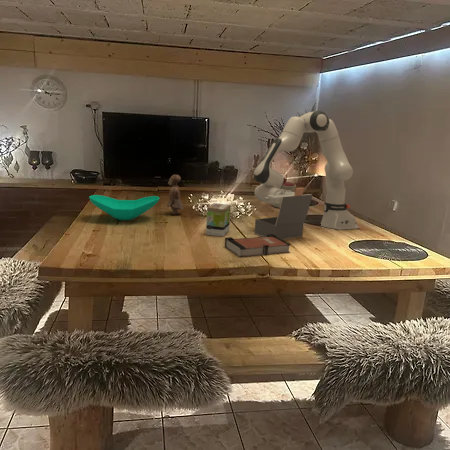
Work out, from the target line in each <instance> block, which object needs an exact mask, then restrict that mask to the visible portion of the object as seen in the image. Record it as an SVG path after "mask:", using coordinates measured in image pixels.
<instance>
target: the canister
mask: <svg viewBox="0 0 450 450" xmlns="http://www.w3.org/2000/svg"><path fill="white" fill-rule="evenodd" d="M296 187H297V185H296V184H295V182H292V181H287V179H286V177H284V183H283V186H282V188H281V189H283V190H290V191H291V192H295V191H296ZM272 206H273V207H274V208H276V209H280V206H281V205H274V204H272Z"/></svg>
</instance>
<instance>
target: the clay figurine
mask: <svg viewBox="0 0 450 450" xmlns="http://www.w3.org/2000/svg"><path fill="white" fill-rule="evenodd" d="M181 180H182V178H181V176H180V175H179V174H172V175H171V176H170V178H169V179H168V182H167V184H168V185H169V186H171V188H169V193H168V198H169V200H168V203H166V207H168V208H169V207H170V208H171V211H172V212H171V214H178V215H180V212H179V210H182V211H183V210H184V206H183V203H182V200H181V192H180V187H179V185H178V183H179V182H180V181H181Z"/></svg>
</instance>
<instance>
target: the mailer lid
mask: <svg viewBox="0 0 450 450" xmlns="http://www.w3.org/2000/svg"><path fill="white" fill-rule="evenodd" d="M304 190H305V188H304V187H295V190H294V192H295V194H294V196H283V198H282V202H281V206H280V208H279V211H278V215H277V216H276V217H277V221H276V225H275V226H282V225H289V224H297V223H306V220H307V219H306V218H307V217H308V212H309V208H310V205H311V203H312V202H311V201H312V198H313V194H312V193H308V194H304Z"/></svg>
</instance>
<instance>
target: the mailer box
mask: <svg viewBox="0 0 450 450" xmlns="http://www.w3.org/2000/svg"><path fill="white" fill-rule="evenodd" d="M277 217H278V216H272V217H266V218H265V217H264V218H256V219H255V221H254V222H255V224H254V235H257V236H258V237H267V235H269V234H273V235H275V236H276V237H278V238H279V239H281V240H283V241H285V240H291V239H296V238H297V239H298V238H301V237H303V232H304V223H305V222H304V223H297V224H289V225H282V226H275V225H276V221H277Z"/></svg>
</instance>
